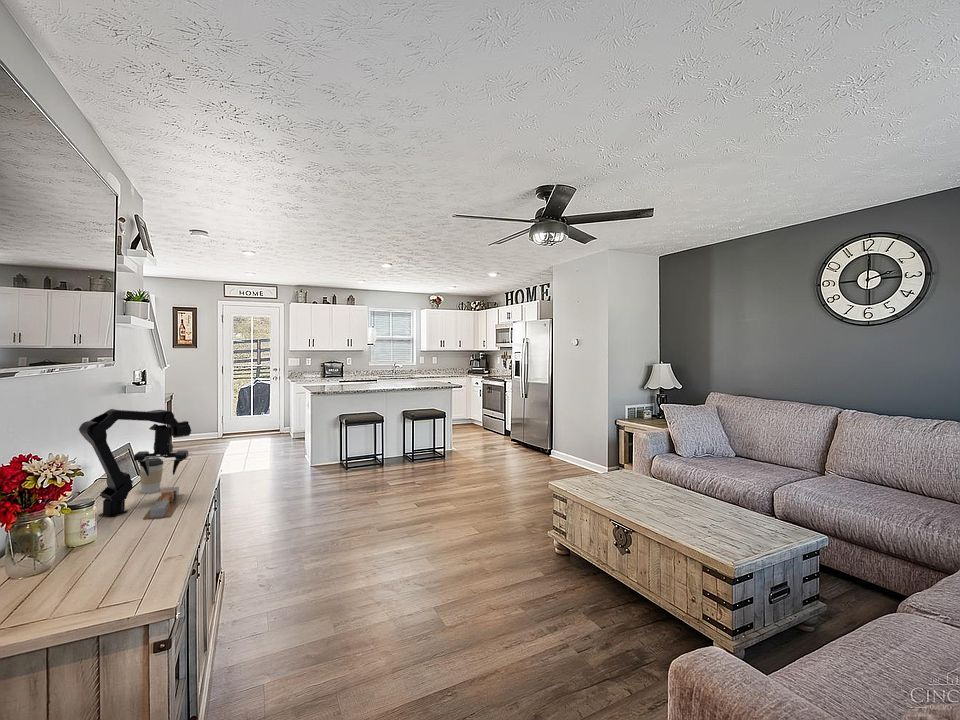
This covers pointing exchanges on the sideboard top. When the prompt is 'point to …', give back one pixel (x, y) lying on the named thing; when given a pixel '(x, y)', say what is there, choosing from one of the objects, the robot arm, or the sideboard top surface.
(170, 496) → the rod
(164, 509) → the tube base
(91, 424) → the robot arm
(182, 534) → the sideboard top surface
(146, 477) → the coffee cup
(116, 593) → the sideboard top surface
